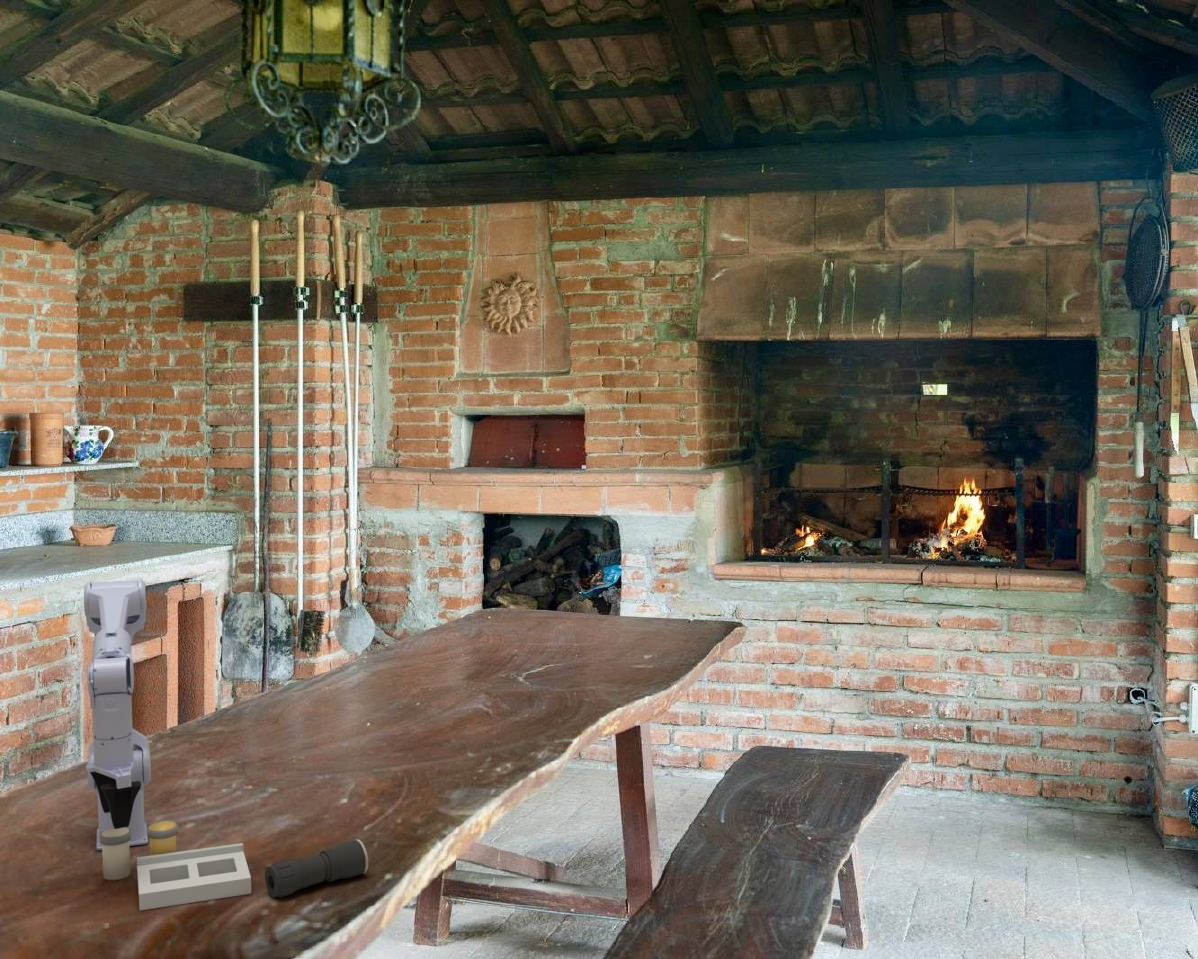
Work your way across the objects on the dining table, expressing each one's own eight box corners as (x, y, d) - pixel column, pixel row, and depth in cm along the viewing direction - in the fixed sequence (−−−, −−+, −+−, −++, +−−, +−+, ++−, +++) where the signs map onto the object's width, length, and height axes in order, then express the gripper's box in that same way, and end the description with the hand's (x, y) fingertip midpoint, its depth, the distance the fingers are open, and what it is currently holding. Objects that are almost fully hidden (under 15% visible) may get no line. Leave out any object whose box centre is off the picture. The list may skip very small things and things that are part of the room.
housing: (137, 879, 194) (136, 857, 193) (243, 864, 200) (242, 843, 199) (139, 910, 183) (138, 887, 182) (251, 893, 189) (250, 871, 188)
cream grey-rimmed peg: (101, 871, 197) (99, 828, 196) (132, 867, 198) (130, 824, 198) (101, 882, 193) (99, 839, 192) (132, 878, 194) (131, 835, 194)
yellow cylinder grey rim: (147, 864, 199) (146, 822, 199) (178, 860, 201) (176, 819, 200) (148, 875, 195) (147, 833, 194) (179, 871, 197) (178, 829, 196)
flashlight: (277, 905, 185) (276, 870, 185) (261, 893, 189) (261, 859, 189) (368, 878, 195) (368, 845, 194) (352, 867, 199) (351, 834, 198)
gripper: (76, 726, 195) (79, 809, 197) (94, 751, 183) (98, 840, 184) (123, 719, 199) (126, 801, 200) (144, 743, 187) (147, 830, 188)
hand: (116, 819), depth 193 cm, fingers open, 7 cm apart
